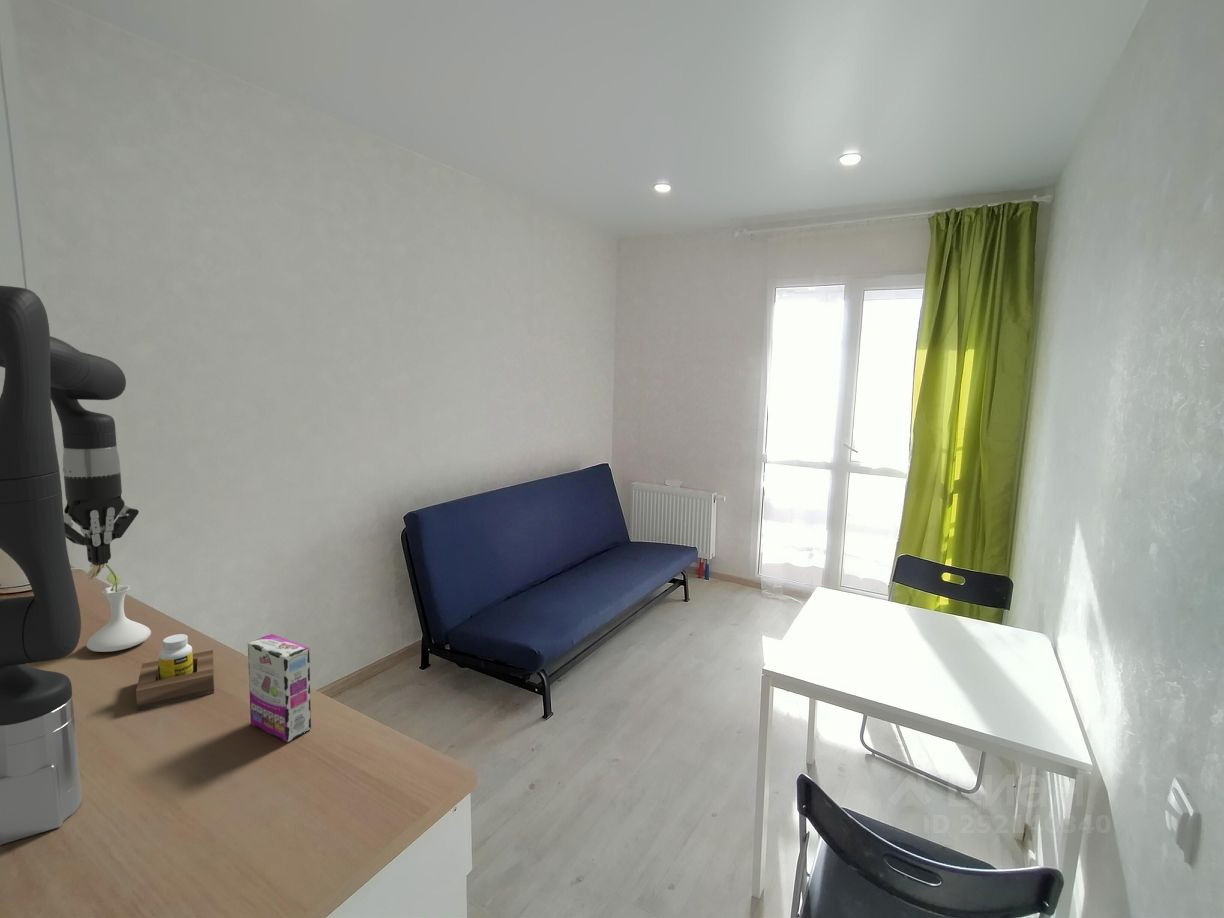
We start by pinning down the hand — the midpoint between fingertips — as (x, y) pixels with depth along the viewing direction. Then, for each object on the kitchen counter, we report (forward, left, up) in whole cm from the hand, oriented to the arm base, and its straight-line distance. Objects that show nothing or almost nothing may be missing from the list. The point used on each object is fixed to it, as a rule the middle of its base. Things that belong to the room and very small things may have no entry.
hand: (100, 563), depth 103 cm
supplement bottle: (+3, -10, -28) cm, 30 cm away
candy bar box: (-22, -26, -29) cm, 45 cm away
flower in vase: (+30, +2, -29) cm, 42 cm away
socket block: (+3, -10, -29) cm, 31 cm away
